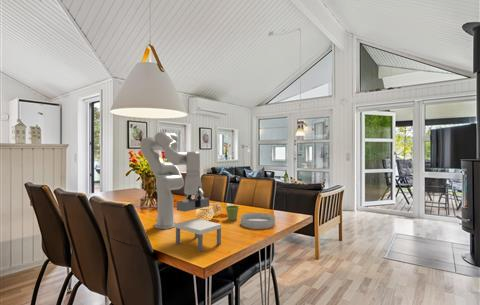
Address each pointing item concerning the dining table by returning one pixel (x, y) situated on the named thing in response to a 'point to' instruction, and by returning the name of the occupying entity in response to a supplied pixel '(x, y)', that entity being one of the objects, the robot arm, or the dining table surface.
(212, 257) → the dining table surface
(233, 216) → the plant pot
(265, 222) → the dish
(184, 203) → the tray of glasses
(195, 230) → the low table
